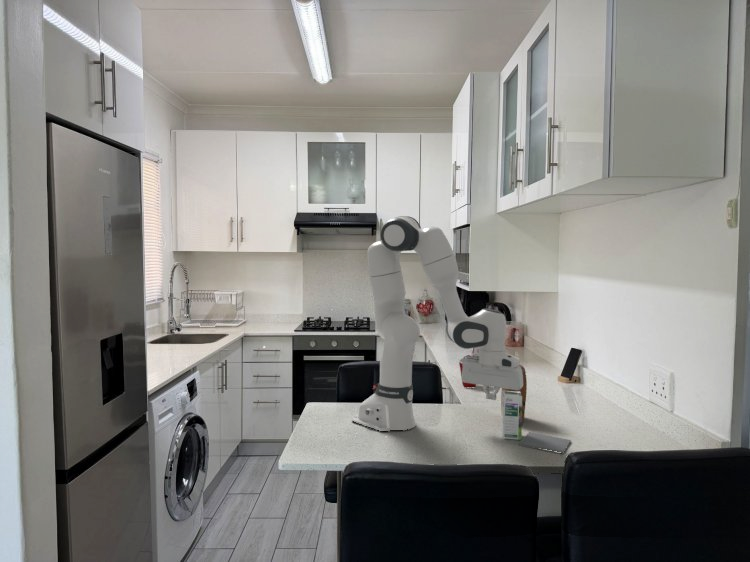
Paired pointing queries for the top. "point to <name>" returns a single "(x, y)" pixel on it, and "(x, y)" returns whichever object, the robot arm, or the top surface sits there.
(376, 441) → the top surface
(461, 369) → the plastic cup
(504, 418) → the syrup box
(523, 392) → the block
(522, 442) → the mat
